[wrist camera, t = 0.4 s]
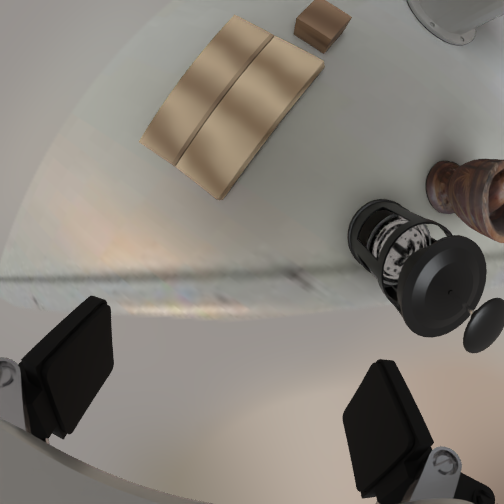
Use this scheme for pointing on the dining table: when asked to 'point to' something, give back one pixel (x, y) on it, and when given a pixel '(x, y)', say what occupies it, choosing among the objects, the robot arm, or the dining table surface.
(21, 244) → the dining table surface
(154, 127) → the laid board
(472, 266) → the french press
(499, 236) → the mortar and pestle
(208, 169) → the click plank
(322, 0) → the walnut block
